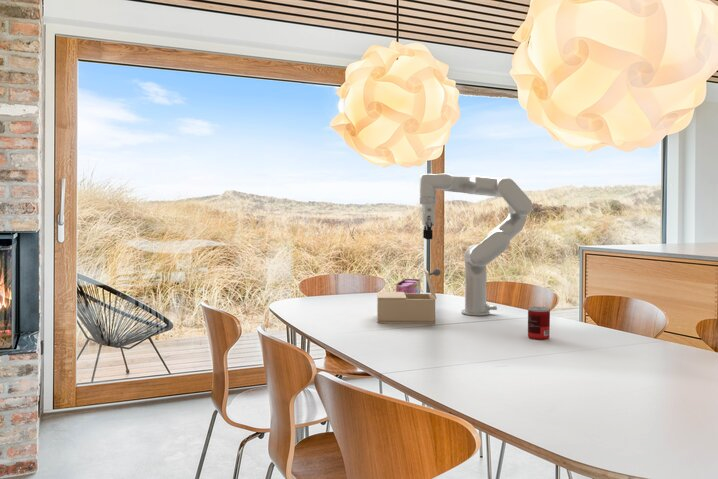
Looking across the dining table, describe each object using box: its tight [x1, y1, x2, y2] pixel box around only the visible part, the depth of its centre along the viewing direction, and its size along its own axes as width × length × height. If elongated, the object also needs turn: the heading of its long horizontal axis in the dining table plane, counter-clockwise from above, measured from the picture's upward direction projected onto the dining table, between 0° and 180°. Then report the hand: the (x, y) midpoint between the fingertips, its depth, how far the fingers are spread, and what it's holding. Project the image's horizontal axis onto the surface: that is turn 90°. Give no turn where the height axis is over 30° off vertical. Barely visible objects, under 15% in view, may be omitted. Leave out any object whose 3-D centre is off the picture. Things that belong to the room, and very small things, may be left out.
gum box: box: [395, 278, 421, 294], centre depth 271 cm, size 24×8×14 cm, turn 164°
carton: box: [376, 291, 436, 324], centre depth 246 cm, size 24×18×11 cm
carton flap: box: [423, 267, 442, 300], centre depth 245 cm, size 12×17×6 cm
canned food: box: [527, 306, 551, 341], centre depth 209 cm, size 8×8×11 cm
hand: (427, 238), depth 259 cm, fingers open, 9 cm apart
